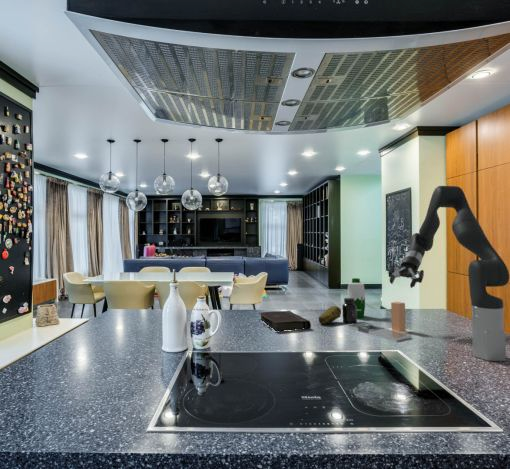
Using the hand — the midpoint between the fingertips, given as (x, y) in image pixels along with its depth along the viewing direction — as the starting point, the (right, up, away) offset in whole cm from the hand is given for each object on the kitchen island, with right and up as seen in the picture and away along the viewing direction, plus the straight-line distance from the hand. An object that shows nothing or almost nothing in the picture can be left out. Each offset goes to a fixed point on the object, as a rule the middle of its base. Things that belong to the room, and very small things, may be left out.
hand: (401, 284), depth 156 cm
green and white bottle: (-10, -22, +32) cm, 40 cm away
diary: (-51, -23, +16) cm, 58 cm away
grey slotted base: (-12, -21, -4) cm, 24 cm away
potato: (-28, -22, +18) cm, 40 cm away
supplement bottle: (-18, -22, +18) cm, 34 cm away
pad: (-1, -21, 0) cm, 21 cm away
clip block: (-1, -20, 0) cm, 20 cm away
